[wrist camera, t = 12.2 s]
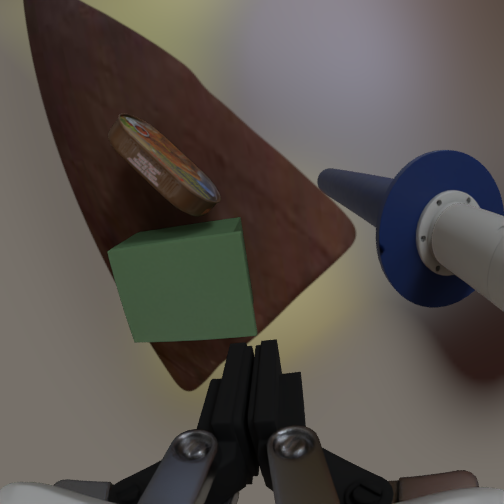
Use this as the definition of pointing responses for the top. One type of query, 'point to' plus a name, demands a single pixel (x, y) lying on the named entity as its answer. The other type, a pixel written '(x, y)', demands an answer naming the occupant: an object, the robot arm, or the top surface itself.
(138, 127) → the tin
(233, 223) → the chest
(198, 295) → the lid
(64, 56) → the top surface
